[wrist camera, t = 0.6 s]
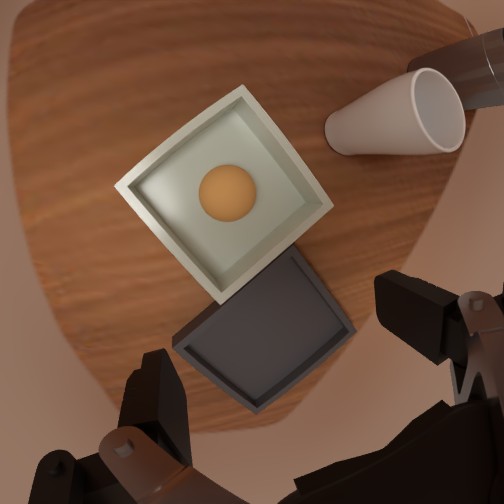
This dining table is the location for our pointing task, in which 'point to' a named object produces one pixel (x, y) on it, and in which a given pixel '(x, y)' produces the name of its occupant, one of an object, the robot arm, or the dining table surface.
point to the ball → (227, 193)
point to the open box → (187, 193)
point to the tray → (266, 333)
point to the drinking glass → (400, 118)
